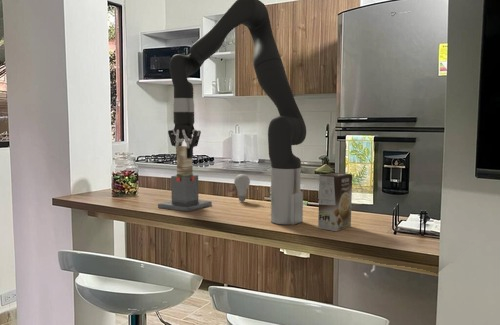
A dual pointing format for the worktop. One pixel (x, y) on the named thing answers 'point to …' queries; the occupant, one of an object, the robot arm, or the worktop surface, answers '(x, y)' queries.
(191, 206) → the stand
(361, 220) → the worktop surface
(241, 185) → the lightbulb
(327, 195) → the coffee box
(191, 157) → the robot arm
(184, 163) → the column
